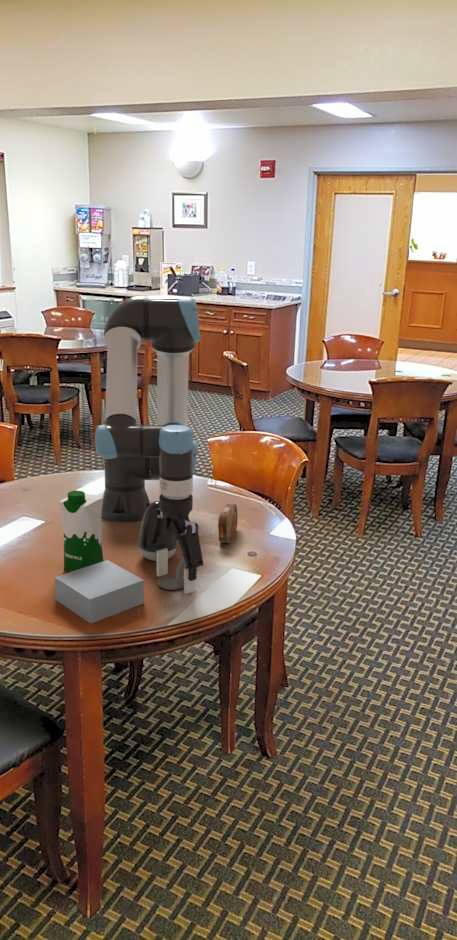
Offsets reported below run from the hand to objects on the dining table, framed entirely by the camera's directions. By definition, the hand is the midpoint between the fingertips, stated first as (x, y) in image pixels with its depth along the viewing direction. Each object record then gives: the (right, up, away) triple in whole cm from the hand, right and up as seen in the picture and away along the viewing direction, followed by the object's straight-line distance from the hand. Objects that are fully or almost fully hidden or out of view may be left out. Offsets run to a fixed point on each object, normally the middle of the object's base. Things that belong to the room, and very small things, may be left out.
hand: (175, 582), depth 170 cm
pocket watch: (0, -1, 0) cm, 1 cm away
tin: (+12, +8, +30) cm, 33 cm away
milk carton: (-23, +2, +9) cm, 25 cm away
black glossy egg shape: (-6, +4, +16) cm, 17 cm away
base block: (-16, -3, -8) cm, 18 cm away
